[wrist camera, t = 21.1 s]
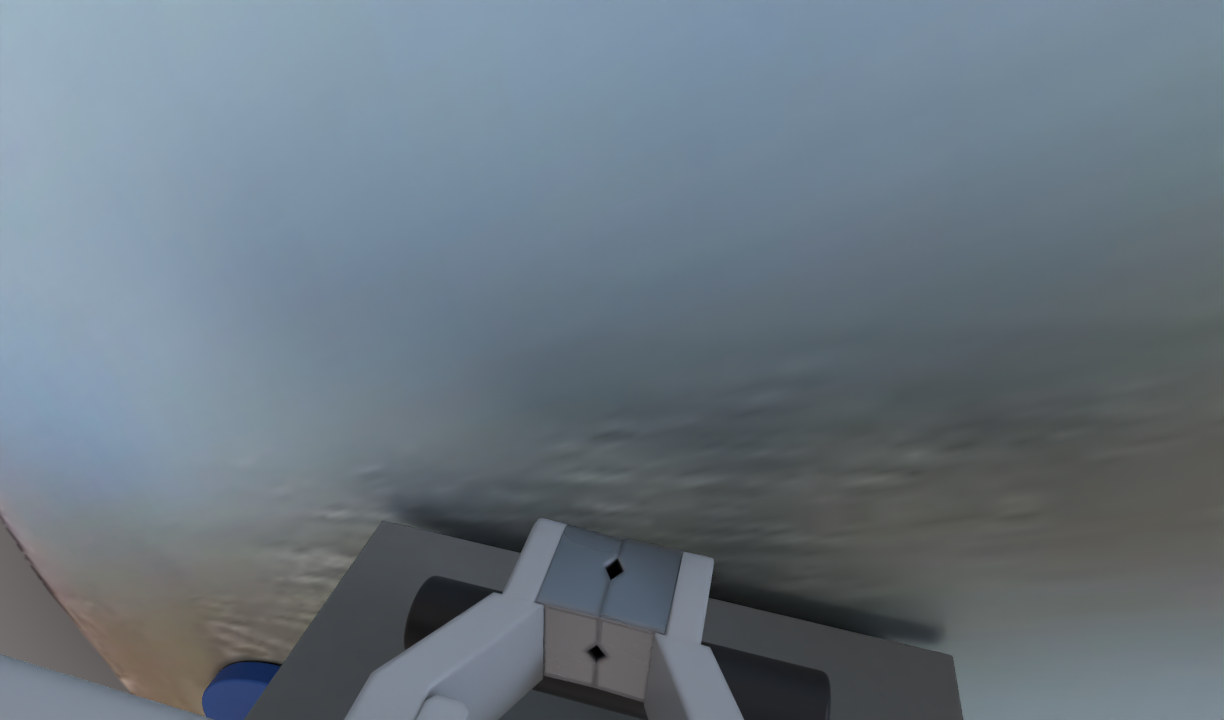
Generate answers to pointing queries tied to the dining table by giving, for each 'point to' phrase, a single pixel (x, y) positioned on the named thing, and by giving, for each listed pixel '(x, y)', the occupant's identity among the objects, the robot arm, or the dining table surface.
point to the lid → (237, 690)
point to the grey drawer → (573, 713)
